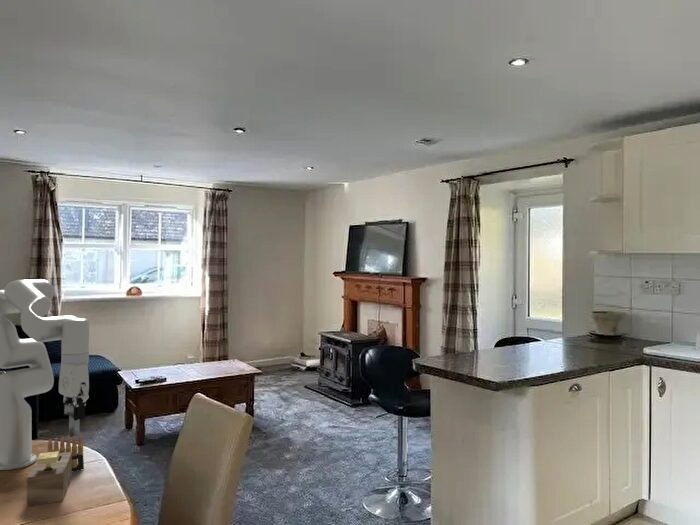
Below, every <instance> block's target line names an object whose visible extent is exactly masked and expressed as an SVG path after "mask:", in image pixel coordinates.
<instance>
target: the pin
mask: <svg viewBox="0 0 700 525" xmlns="http://www.w3.org/2000/svg"><path fill="white" fill-rule="evenodd" d="M74 407H75V402H71V403H67V404H65V414H66V415H69V416H68V435H69V437H70V438H71V437H72V438H73V436H76V437H77V436H78V437H79V435H80V419H79V420H74Z"/></svg>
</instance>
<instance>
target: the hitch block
mask: <svg viewBox="0 0 700 525" xmlns="http://www.w3.org/2000/svg"><path fill="white" fill-rule="evenodd" d="M72 477H73V472H72V451H71V452H66V453H59V459H58V461H57V463H51V470H50V471H46V464H41V465H37V460H36V461H35V462H34V465H33V467H32V468H31V470H30V472H29V473H28V475H27V478H26V481H27V482H26V506H27V507H31V506H36V505H37V506H38V505H43V504H51V503H59V502H63V501H64V500H65V497H66V494H67V492H68V488H69V486H70V483H71V481H72ZM70 480H71V481H70Z"/></svg>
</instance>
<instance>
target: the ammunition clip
mask: <svg viewBox="0 0 700 525" xmlns="http://www.w3.org/2000/svg"><path fill="white" fill-rule="evenodd" d="M53 442H54V443H53ZM53 442H52V439H51V437H49V439H48V442H47V452H46V453H48V452H57V451H59V453H66V452H72V471H74V472H78V471H77V470H79V471H82V470H81V469H84V470H85V465H84V464H85V463H84V443H83V435H82V433H81V432H79V435H78V442H77V436H73V437H72V443H71V436H69V434H68V435H67V436H66V442H65V438H64V435H62V436H61V438H60V441H59V439H58V437H57V436H56V437H54V441H53ZM59 443H60V444H59ZM71 445H72V446H71Z"/></svg>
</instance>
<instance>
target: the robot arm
mask: <svg viewBox="0 0 700 525" xmlns="http://www.w3.org/2000/svg"><path fill="white" fill-rule="evenodd" d="M54 296H55V289H54V285H52V283H51V282H50V281H49V280H46V279H44V278H43V279H42V278H39V279H38V278H37V279H36V278H35V279H32V278H31V279H15V280H13V281H10V282H9V283H7V285H5V287H4V289H0V369H4V370H5V369H6V370H7V369H13V368H20V367H27V366H28V368H20V369H15V370H9V371H6V372H3V373H2V374H0V471H10V470H11V471H12V470H18V469H21V468H25V467H28V466H31V465H32V464H35V463H36V461H37V458H38V456H37V455H36V454H34V453H32V448H33V447H32V430H33V427H32V426H33V424H32V420H33V418H32V412H33V411H32V407H31V405H30V404H29V403H28V402H27V401H26V400H25V398H27V397H30V396H31V397H32V396H36V395H40V394H45V393H47V392H49V391H50V390H52V389H53V387H54V383H55V378H54V374H53V373H54V372H53V369H52V364H51V361H50V358H49V354H48V351H47V348H46V345H45V343H47V342H54V341H61V344H60V346H61V347H60V348H61V351H60V352H61V353H60V357H61V358H60V361H61V362H60V369H59V379H58V393H59V394H60V395H62V398H63V400H62V402H63V416H64V417H69V415H66V414H65V404H67V403H71V402H75V407H74V420H79V421H80V420H83V419H85V418H86V405H87V402H88V399H89V397H90V396H89V390H90V375H89V364H88V363H89V362H90V361H89V360H90V358H89V357H90V355H89V354H90V321H89V320H88V318H85V317H84V318H83V317H78V316H76V315H69V314H67V315H56V316H54V315H53V316H46V315H47V314H48V313H49V312H50V310H51V308H52V300H53V298H54ZM20 313H21V314H20ZM7 314H8V315H10V314H20V319H19V321H20V327H21V329H22V331H23V332H24V333H25V334H26V335H27V336H28V337H29V338H27V337H26V338H20V337H19V335H18V332H17V328H16V326H15V325H14V323H12V321H11V320H9V319H8V318H6V317H5V316H4V315H7Z"/></svg>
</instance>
